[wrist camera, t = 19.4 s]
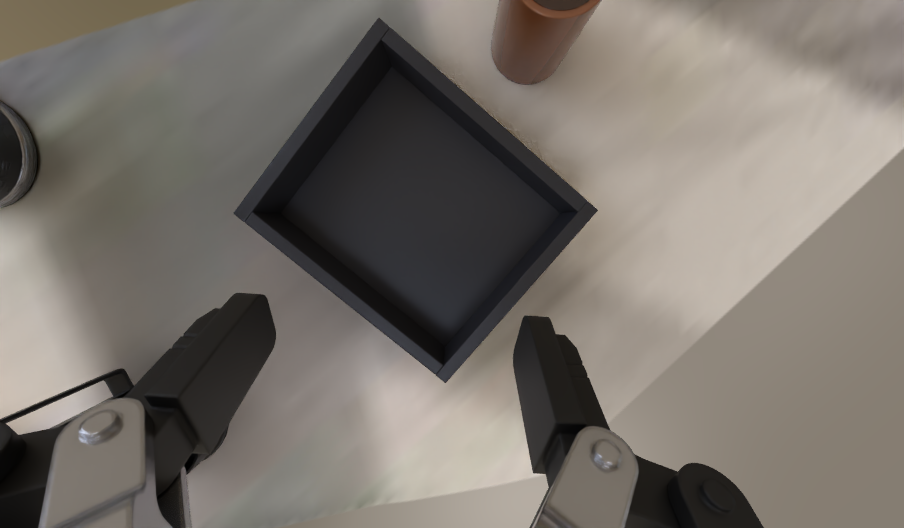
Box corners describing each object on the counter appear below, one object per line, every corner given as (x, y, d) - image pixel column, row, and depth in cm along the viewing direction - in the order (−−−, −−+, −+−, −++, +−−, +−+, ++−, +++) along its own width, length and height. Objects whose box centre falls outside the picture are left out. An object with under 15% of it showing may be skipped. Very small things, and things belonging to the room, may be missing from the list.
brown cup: (475, 50, 27) (485, -34, 18) (524, -12, 27) (559, -130, 18) (530, 100, 28) (566, 41, 19) (580, 40, 27) (642, -50, 18)
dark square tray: (270, 215, 29) (232, 213, 24) (392, 54, 27) (378, 16, 22) (447, 357, 31) (445, 383, 26) (573, 212, 29) (598, 210, 24)
